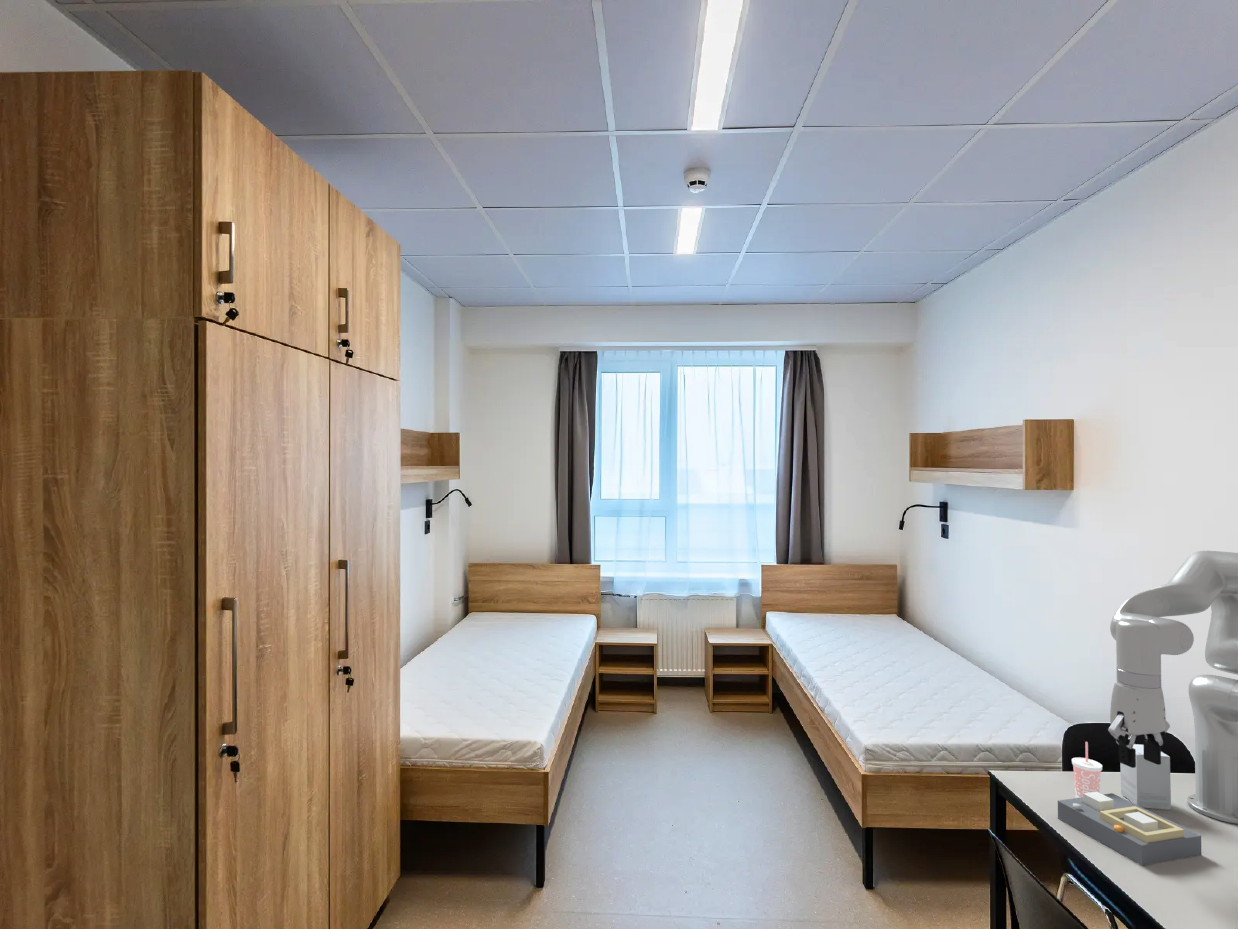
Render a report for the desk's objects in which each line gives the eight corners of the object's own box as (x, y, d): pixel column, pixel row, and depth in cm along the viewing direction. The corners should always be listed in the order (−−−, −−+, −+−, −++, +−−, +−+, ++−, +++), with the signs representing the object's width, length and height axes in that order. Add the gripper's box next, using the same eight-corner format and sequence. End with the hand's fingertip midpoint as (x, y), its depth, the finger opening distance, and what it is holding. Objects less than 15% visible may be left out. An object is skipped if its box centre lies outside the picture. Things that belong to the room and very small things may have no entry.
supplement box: (1172, 811, 154) (1171, 757, 154) (1136, 807, 155) (1135, 754, 155) (1153, 796, 161) (1152, 744, 161) (1119, 793, 162) (1118, 742, 163)
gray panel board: (1112, 810, 154) (1112, 786, 154) (1201, 855, 135) (1201, 828, 135) (1057, 818, 150) (1057, 794, 150) (1141, 865, 131) (1141, 838, 132)
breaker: (1096, 809, 150) (1096, 791, 150) (1113, 817, 146) (1113, 799, 146) (1083, 811, 149) (1082, 793, 149) (1099, 819, 145) (1099, 801, 145)
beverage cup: (1067, 798, 159) (1067, 741, 160) (1077, 791, 163) (1076, 735, 163) (1097, 808, 154) (1096, 749, 155) (1106, 801, 158) (1106, 743, 158)
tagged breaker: (1138, 830, 141) (1138, 812, 141) (1157, 840, 137) (1157, 821, 137) (1124, 832, 140) (1123, 814, 140) (1143, 842, 136) (1142, 823, 136)
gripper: (1151, 671, 145) (1152, 752, 145) (1090, 676, 141) (1091, 760, 140) (1188, 681, 138) (1189, 767, 137) (1124, 687, 134) (1125, 775, 133)
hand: (1139, 762), depth 139 cm, fingers open, 6 cm apart
